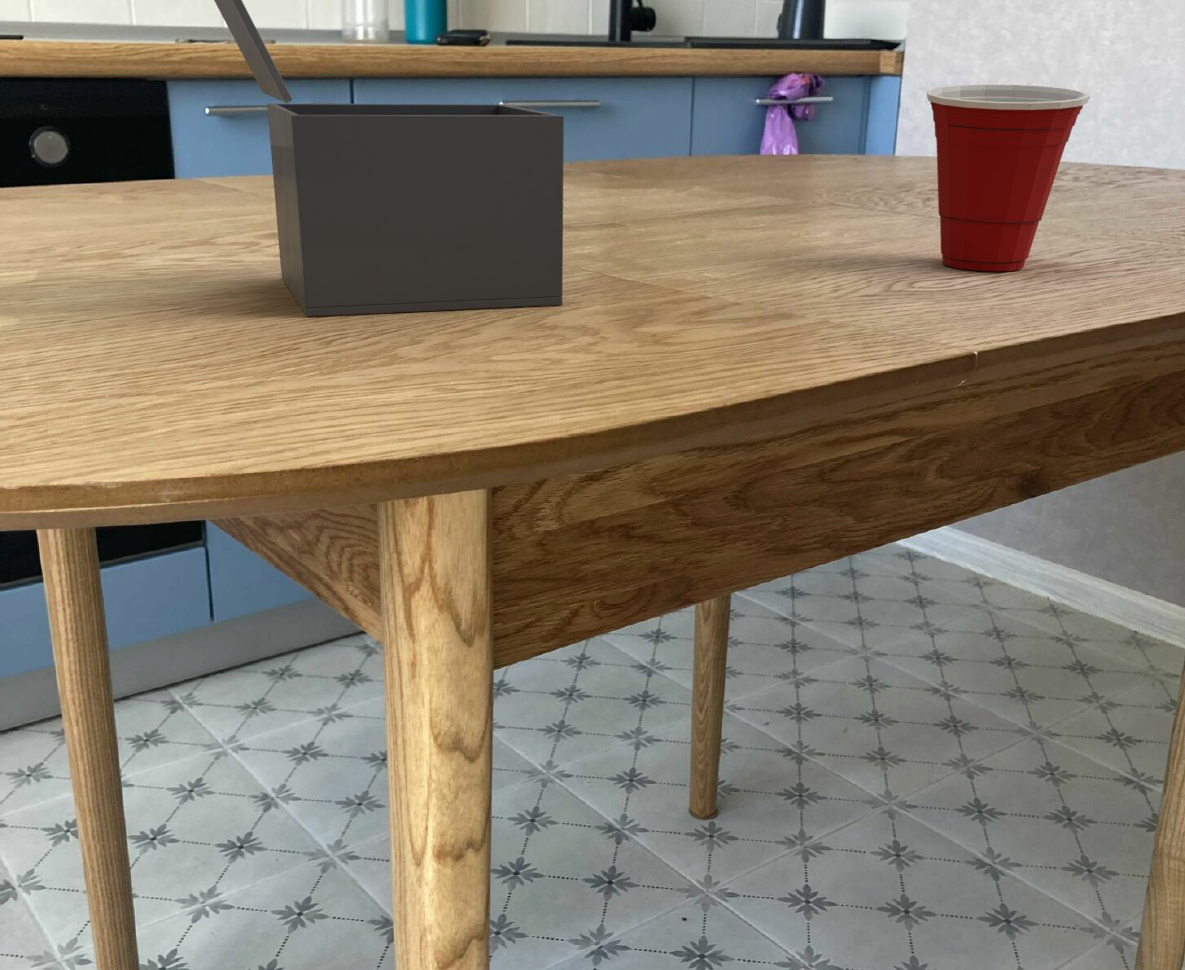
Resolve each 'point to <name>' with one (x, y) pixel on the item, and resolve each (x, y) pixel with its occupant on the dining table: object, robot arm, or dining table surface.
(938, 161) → the plastic cup
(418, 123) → the carton
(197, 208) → the dining table surface
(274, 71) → the flap
